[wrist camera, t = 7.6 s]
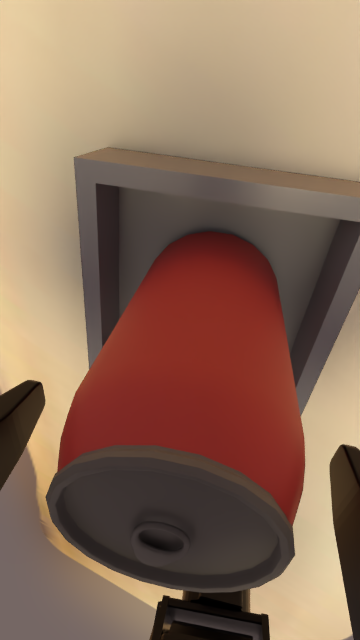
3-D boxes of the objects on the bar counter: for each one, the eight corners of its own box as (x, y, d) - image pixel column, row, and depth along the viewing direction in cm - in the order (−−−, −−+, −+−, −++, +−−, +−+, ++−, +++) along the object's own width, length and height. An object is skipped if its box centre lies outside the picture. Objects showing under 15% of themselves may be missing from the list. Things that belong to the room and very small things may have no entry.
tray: (290, 379, 21) (296, 424, 18) (111, 345, 22) (90, 382, 19) (367, 183, 14) (398, 203, 11) (107, 147, 15) (73, 157, 12)
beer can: (140, 320, 19) (24, 553, 9) (165, 208, 15) (16, 397, 5) (248, 354, 19) (250, 625, 9) (300, 251, 15) (398, 517, 5)
